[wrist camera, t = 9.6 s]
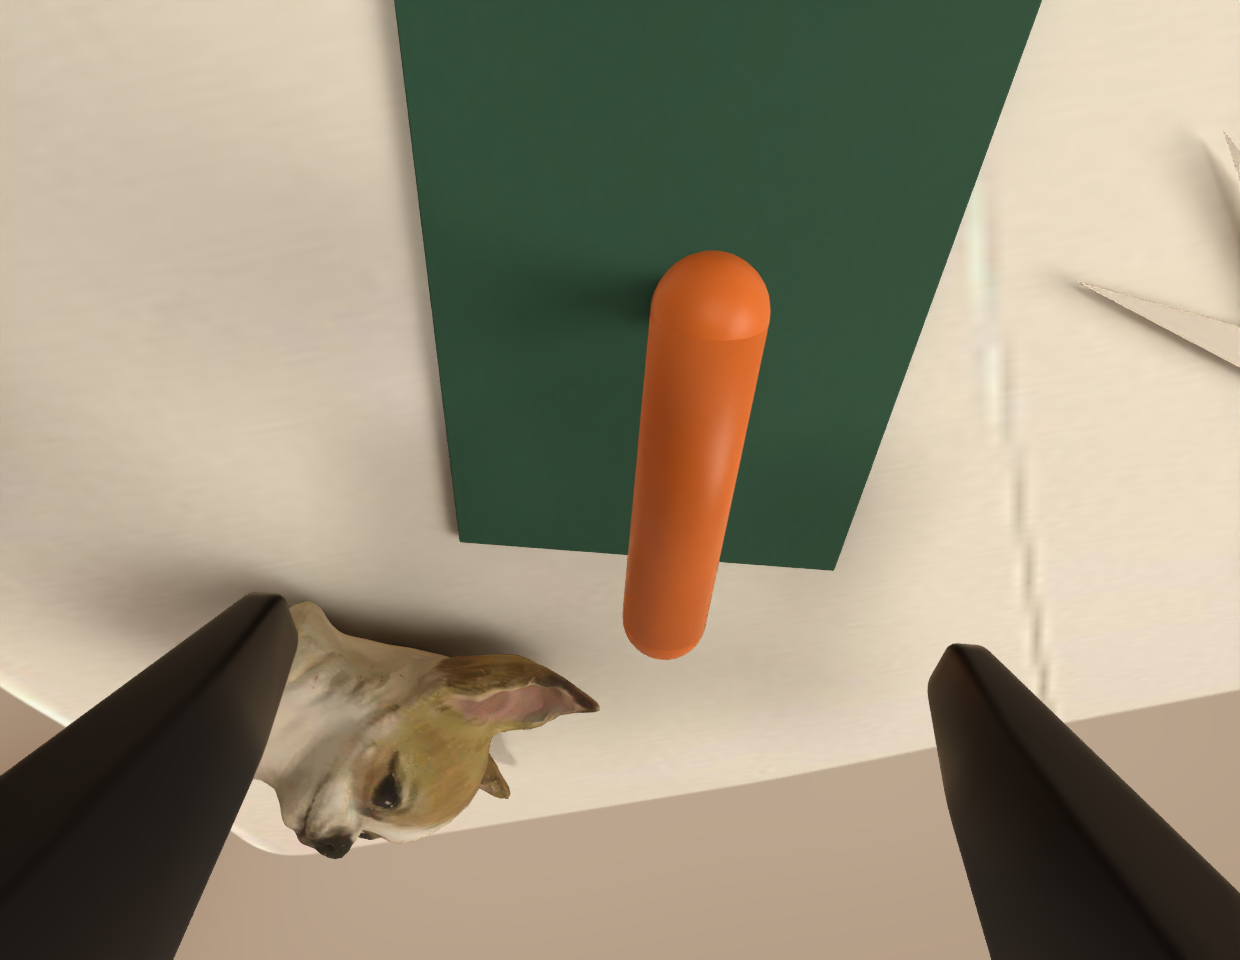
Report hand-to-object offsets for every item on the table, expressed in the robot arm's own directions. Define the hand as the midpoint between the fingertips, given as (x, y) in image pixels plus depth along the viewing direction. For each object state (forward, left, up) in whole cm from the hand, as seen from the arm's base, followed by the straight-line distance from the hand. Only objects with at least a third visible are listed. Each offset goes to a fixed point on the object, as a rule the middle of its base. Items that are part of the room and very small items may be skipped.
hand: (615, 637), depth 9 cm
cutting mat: (+1, 0, -13) cm, 13 cm away
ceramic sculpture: (-9, -18, -13) cm, 24 cm away
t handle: (+1, 0, -12) cm, 12 cm away
